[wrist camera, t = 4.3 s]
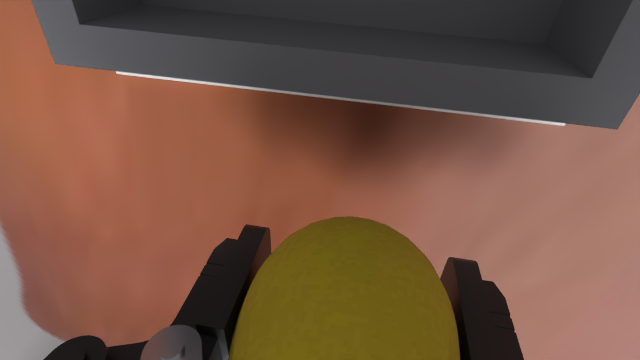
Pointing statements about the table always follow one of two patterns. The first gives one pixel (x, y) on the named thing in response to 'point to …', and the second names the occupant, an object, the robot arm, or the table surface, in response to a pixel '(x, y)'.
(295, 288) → the lemon
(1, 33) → the table surface
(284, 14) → the gray open tray
